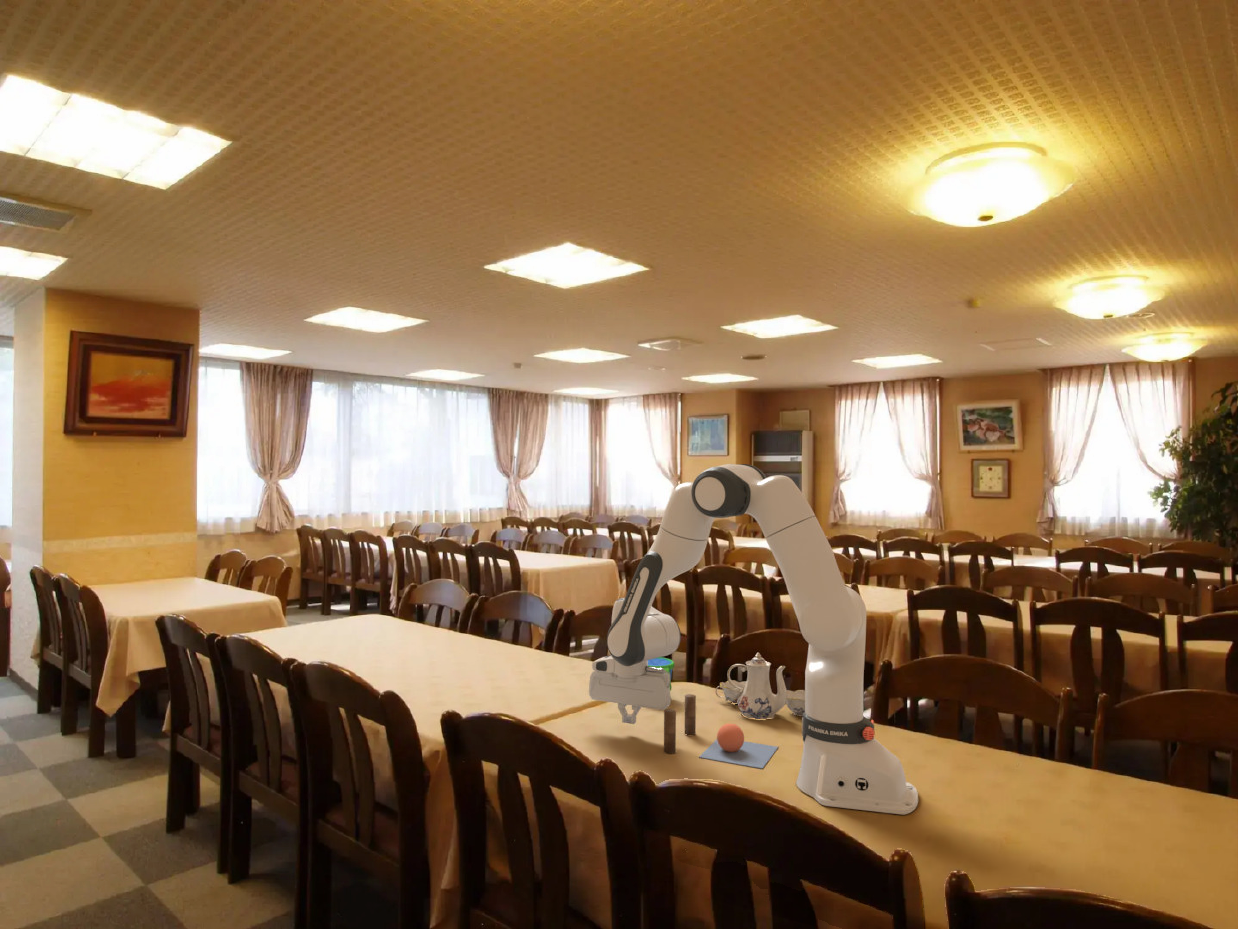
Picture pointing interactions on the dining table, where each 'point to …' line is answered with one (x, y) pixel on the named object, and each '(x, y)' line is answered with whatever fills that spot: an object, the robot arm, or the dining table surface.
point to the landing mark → (741, 754)
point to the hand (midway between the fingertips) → (629, 722)
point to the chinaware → (761, 691)
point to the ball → (730, 737)
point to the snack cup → (662, 665)
